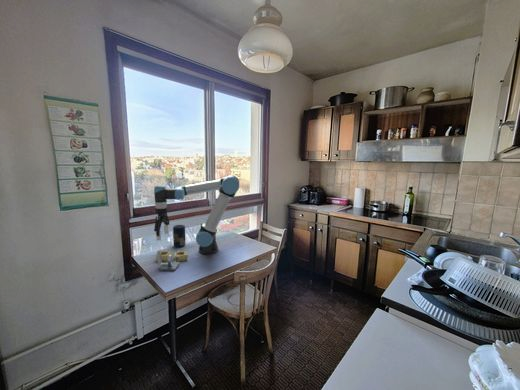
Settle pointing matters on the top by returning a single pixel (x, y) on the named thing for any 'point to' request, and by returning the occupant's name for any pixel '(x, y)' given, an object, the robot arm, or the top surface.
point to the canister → (179, 235)
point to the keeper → (166, 263)
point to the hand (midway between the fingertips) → (162, 236)
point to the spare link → (180, 256)
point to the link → (165, 255)
